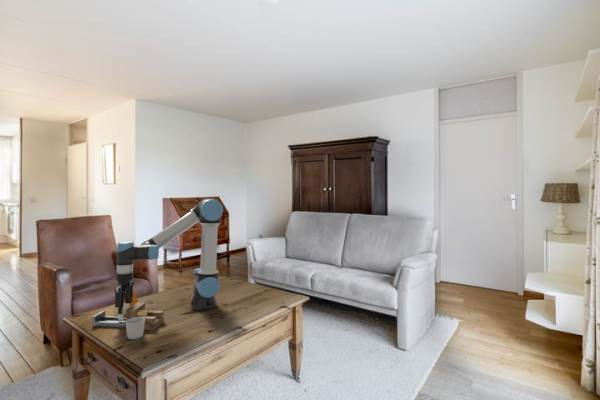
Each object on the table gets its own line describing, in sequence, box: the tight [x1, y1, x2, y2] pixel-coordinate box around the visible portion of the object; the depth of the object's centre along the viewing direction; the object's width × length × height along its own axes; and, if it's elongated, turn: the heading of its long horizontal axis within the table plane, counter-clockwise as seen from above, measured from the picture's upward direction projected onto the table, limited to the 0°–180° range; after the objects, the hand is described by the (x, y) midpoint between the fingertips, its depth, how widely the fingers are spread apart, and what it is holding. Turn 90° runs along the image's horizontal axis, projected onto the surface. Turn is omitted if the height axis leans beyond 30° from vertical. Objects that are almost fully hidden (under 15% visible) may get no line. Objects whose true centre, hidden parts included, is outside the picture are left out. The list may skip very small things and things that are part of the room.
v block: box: [91, 310, 126, 329], centre depth 165 cm, size 17×8×5 cm, turn 88°
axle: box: [124, 309, 150, 319], centre depth 165 cm, size 14×4×4 cm, turn 88°
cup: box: [125, 317, 145, 340], centre depth 152 cm, size 11×8×8 cm
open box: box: [126, 301, 165, 331], centre depth 165 cm, size 14×11×10 cm
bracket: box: [123, 290, 139, 307], centre depth 182 cm, size 11×7×12 cm, turn 141°
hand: (123, 317), depth 165 cm, fingers closed on axle, 4 cm apart
